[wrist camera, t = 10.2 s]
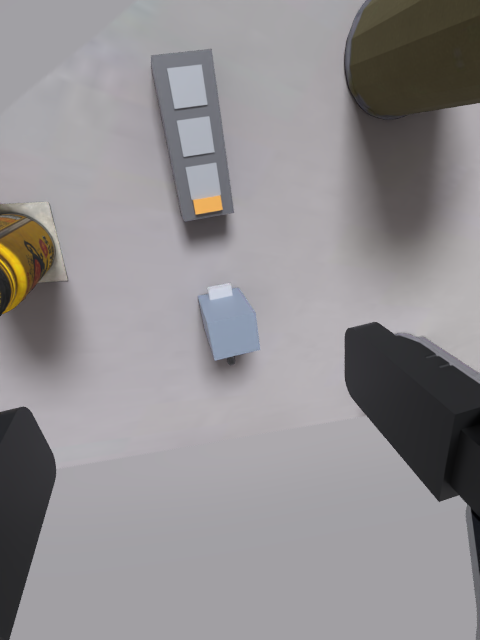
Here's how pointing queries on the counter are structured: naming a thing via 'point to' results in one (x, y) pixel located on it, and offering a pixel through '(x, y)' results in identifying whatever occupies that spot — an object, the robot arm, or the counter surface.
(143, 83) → the counter surface
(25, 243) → the condiment
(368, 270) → the counter surface
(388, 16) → the canister
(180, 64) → the strip
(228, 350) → the block
